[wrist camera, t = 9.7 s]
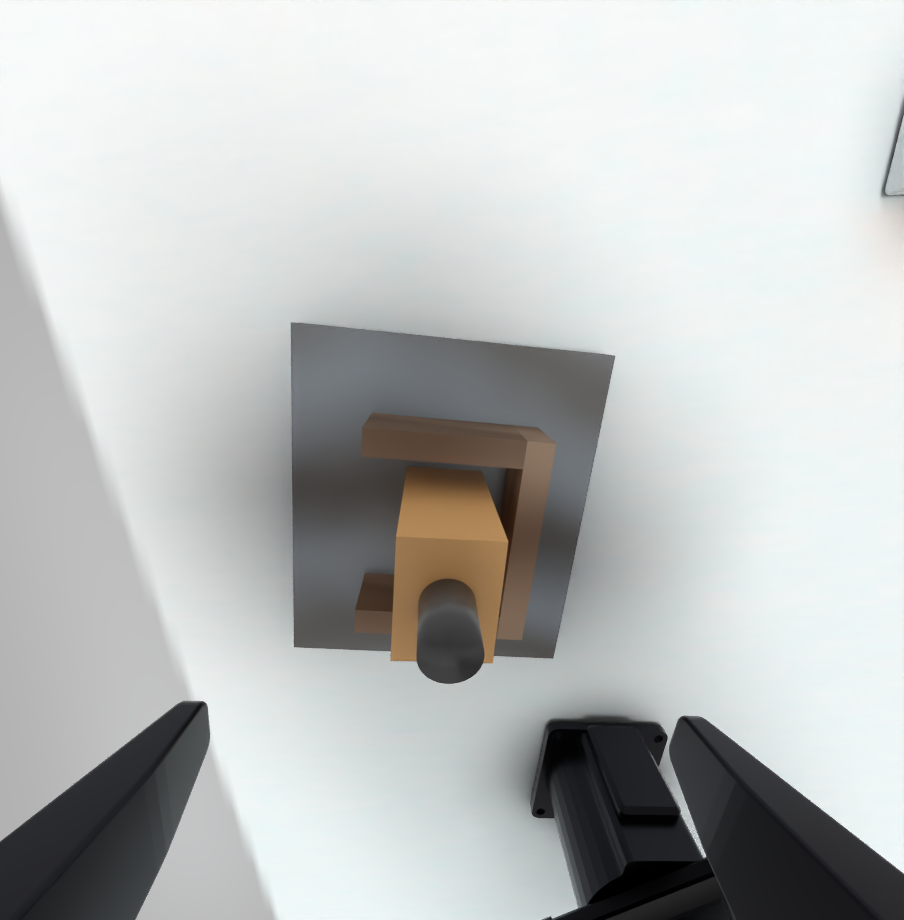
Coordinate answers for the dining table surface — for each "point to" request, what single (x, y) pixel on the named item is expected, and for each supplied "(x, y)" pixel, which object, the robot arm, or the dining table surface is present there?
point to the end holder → (435, 446)
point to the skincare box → (897, 167)
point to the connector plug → (447, 573)
